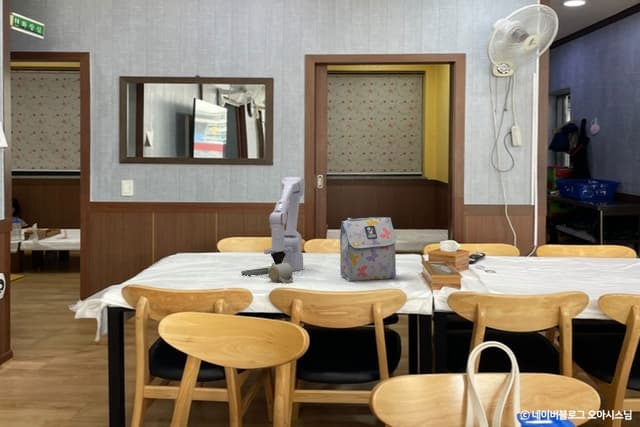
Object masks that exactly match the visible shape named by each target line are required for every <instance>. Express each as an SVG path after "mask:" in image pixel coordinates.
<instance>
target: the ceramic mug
mask: <svg viewBox="0 0 640 427" xmlns="http://www.w3.org/2000/svg"><path fill="white" fill-rule="evenodd" d="M270 266H271V267H270V269H269V274H268V277H269V279H270V280H271V281H272V282H274V283H278V282H279V283H280V282H281V283H284V284H291V283H292V282H293V280H294V277H293V274H294V273H293V272H294V271H292V268H291V266H290V264H288V263H283V262H282V264H278V265H274V266H272V265H270Z"/></svg>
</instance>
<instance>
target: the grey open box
mask: <svg viewBox="0 0 640 427" xmlns="http://www.w3.org/2000/svg"><path fill="white" fill-rule="evenodd" d="M240 272H241V274H242V275H241V276H244V275H248V276H247V277H252V276H251V275H256V276H260V275H259V274H263V275H268V274H267V273H269V271H268V266H267V267H261V268H253V269H245V270H241V271H240Z"/></svg>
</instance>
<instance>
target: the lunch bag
mask: <svg viewBox="0 0 640 427" xmlns="http://www.w3.org/2000/svg"><path fill="white" fill-rule="evenodd" d="M339 230H340V231H339V232H340V233H339V242H340V243H339V246H340V248H339V249H340V260H339V263H340V277H342V278H346V280H347V281H348V282H351V281H352V282H353V281H354V282H356V281H357V282H359V281H368V280H369V281H370V280H371V281H372V280H385V279H386V280H387V279H396V277H397V270H396V264H397V263H396V261H397V260H396V242H397V236H396V232H395V228H394V227H393V223H392V218H391V217H365V218H351V217H347V220H344V221H343V220H342V221H341V226H340V229H339Z"/></svg>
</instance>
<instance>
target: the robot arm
mask: <svg viewBox="0 0 640 427" xmlns="http://www.w3.org/2000/svg"><path fill="white" fill-rule="evenodd" d="M280 184H281V189H282V193H281V196H280V199H279V200H277V202H276V204H275V206H274V209H273V211H272V212H271V213H270V214H269V219H268V220H269V226H270V227H269V228H270V229H271V248H268V249H266V248H265V249H264V250H263V253H264V254H263V255H270V256H271V258H272V259H273V263H275V265H278V264H282V263H288V264H290V266H291V268H292V271H293V272H295V271H302V270H305V267H304V254H303V251H300V250H302V245H303V243H302V241H303V240H302V234H300V232H298V231H297V228H298V218H299V210H300V202H301V198H302V196H304V193H305V185H306V184H305V180H304V177H303V176H283V177H282V178H281V182H280ZM285 225H286V229H285Z"/></svg>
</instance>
